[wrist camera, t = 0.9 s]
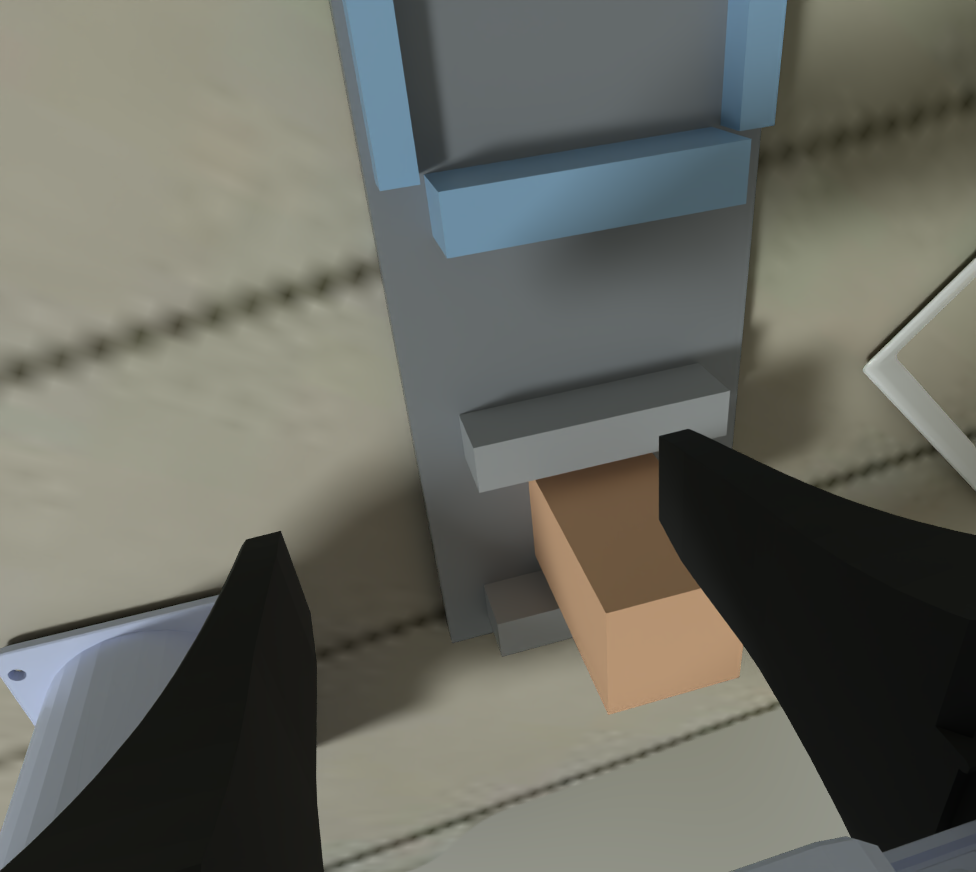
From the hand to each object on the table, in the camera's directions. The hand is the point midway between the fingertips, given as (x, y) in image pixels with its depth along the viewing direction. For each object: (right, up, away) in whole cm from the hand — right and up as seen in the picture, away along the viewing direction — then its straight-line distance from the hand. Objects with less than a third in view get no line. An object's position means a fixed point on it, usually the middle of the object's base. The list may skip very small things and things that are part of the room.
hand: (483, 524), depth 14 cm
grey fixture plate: (+3, +6, +9) cm, 11 cm away
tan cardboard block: (+3, -1, +12) cm, 12 cm away
